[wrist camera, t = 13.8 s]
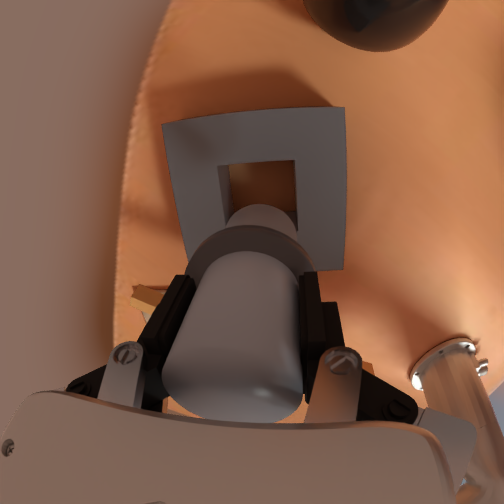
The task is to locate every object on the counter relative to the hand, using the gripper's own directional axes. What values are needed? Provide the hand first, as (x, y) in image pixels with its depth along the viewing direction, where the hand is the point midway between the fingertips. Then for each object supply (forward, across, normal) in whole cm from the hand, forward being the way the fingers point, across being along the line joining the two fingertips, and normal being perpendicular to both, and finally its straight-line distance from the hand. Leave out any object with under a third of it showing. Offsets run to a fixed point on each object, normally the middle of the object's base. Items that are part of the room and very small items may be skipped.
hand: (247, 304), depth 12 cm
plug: (+6, 0, 0) cm, 6 cm away
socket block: (+17, +1, +2) cm, 17 cm away
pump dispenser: (+17, -9, -18) cm, 26 cm away
